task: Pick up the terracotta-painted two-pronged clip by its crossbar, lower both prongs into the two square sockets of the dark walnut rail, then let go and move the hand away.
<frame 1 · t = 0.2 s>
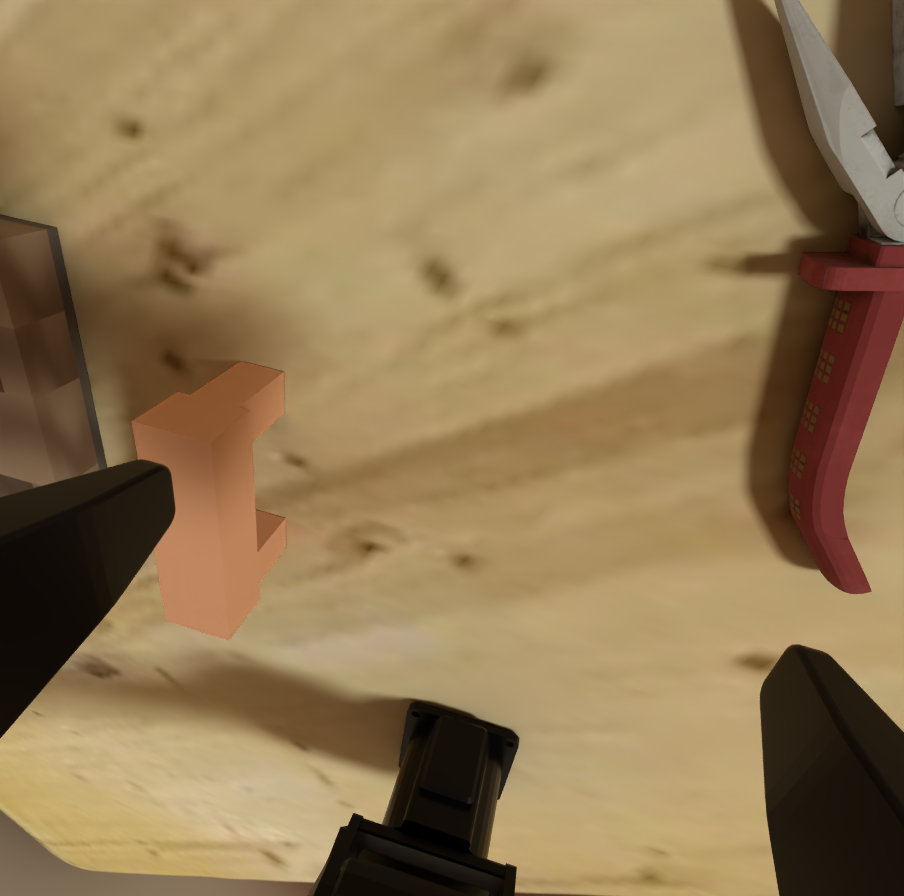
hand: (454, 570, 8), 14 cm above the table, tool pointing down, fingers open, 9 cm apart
rail: (43, 403, 29), on the table
clip: (265, 463, 27), on the table
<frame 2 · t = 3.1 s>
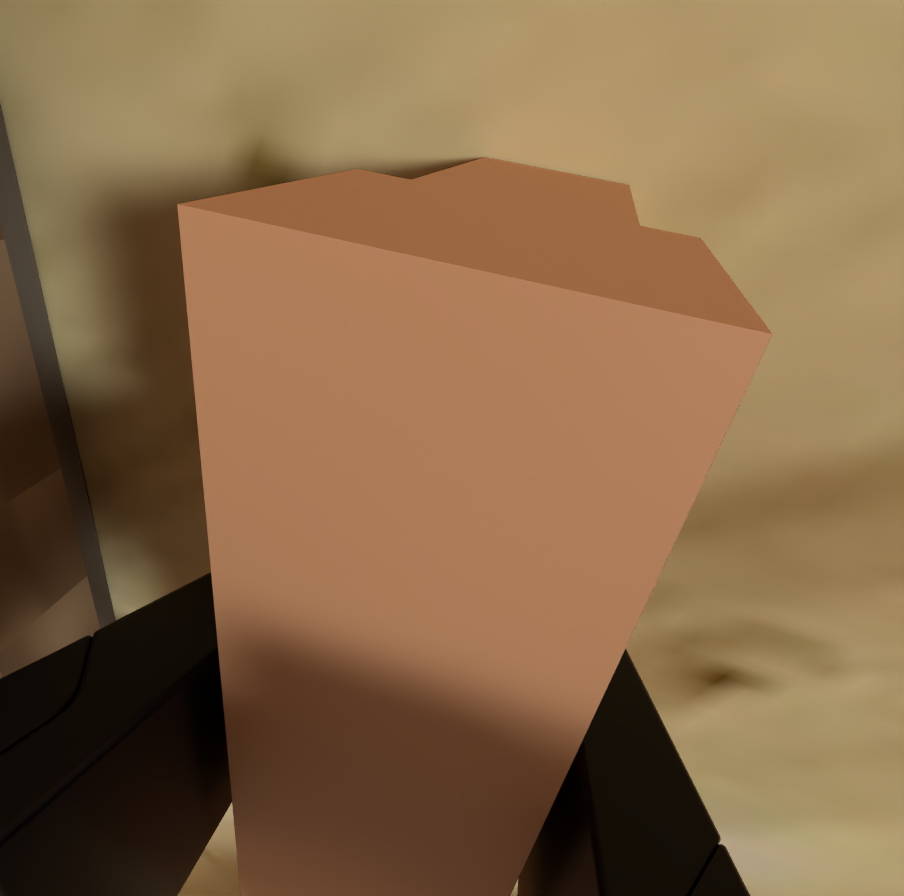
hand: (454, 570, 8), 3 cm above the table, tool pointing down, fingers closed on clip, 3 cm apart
clip: (488, 470, 10), on the table, touching gripper
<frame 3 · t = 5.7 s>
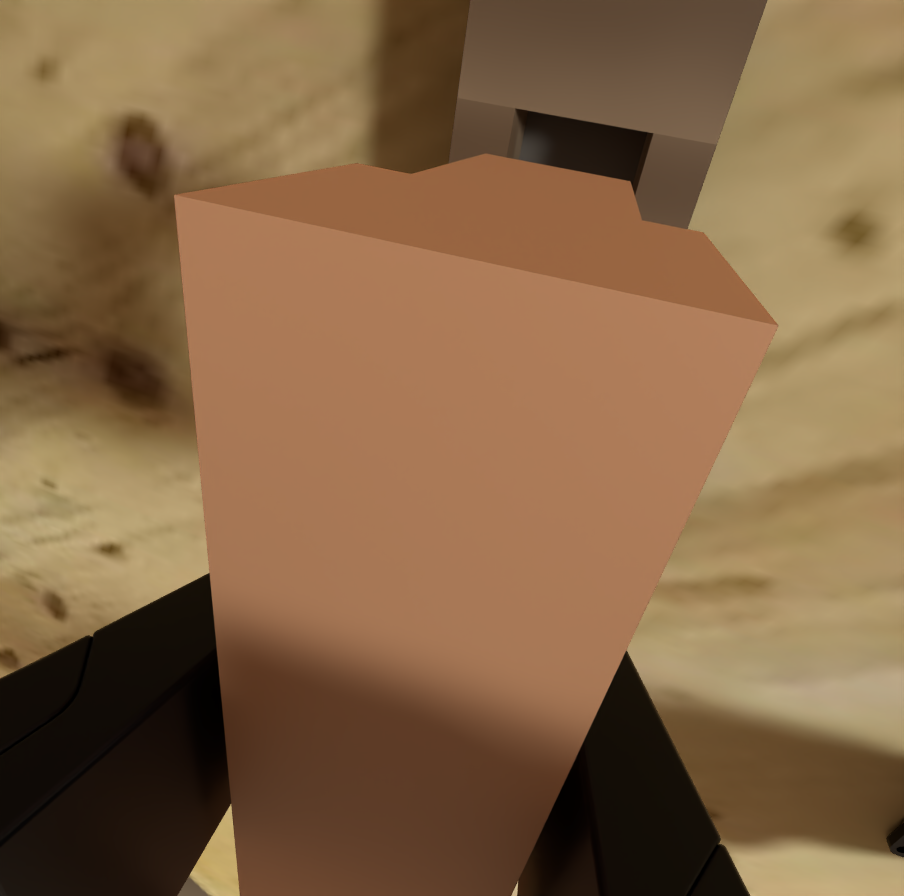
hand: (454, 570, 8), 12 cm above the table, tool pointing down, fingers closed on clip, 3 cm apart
rail: (540, 317, 19), on the table
clip: (489, 469, 10), point 10 cm above the table, touching gripper
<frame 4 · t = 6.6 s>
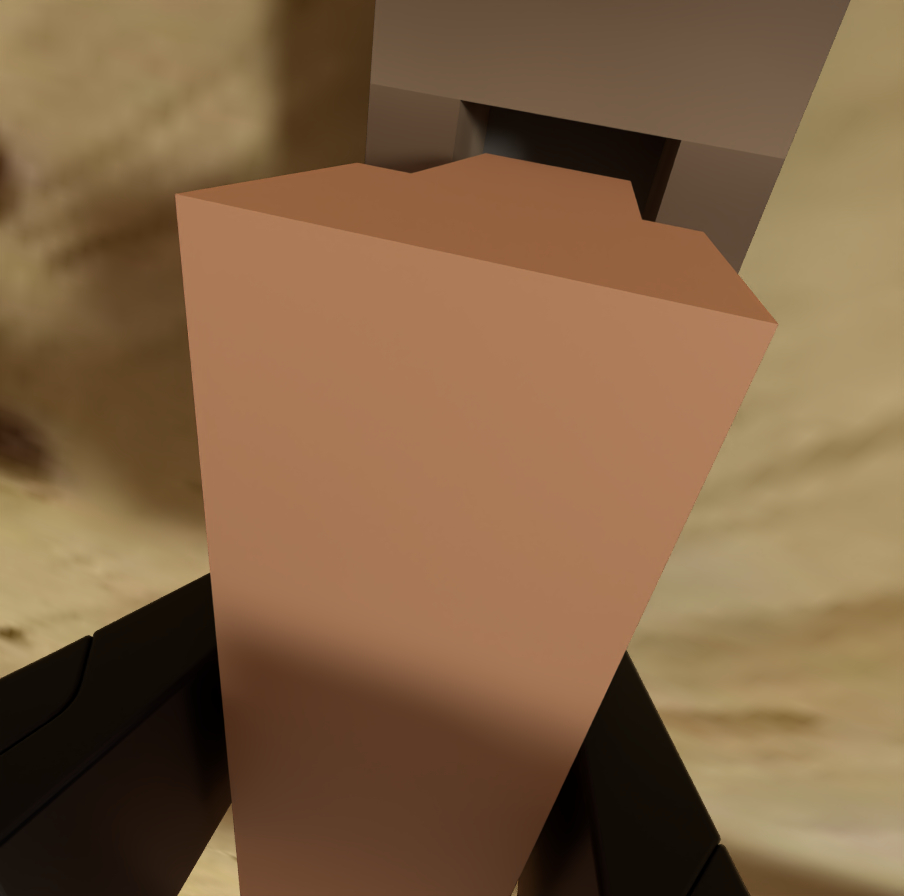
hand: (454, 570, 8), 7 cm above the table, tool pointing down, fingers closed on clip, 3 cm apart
rail: (515, 387, 14), on the table
clip: (489, 468, 10), point 4 cm above the table, touching gripper
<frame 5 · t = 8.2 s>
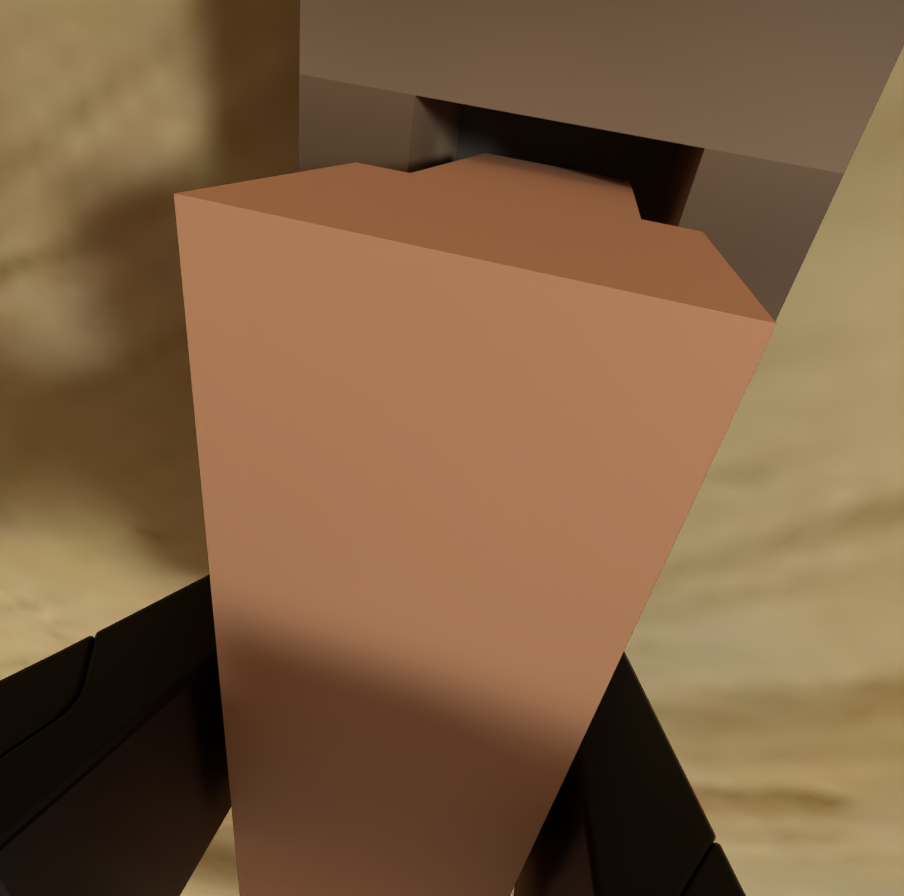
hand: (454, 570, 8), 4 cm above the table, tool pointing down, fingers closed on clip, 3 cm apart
rail: (500, 433, 12), on the table
clip: (488, 468, 10), point 1 cm above the table, touching gripper
when the fingers open (4 cm above the table, at t = 8.3 s): clip stays where it is, resting on rail.
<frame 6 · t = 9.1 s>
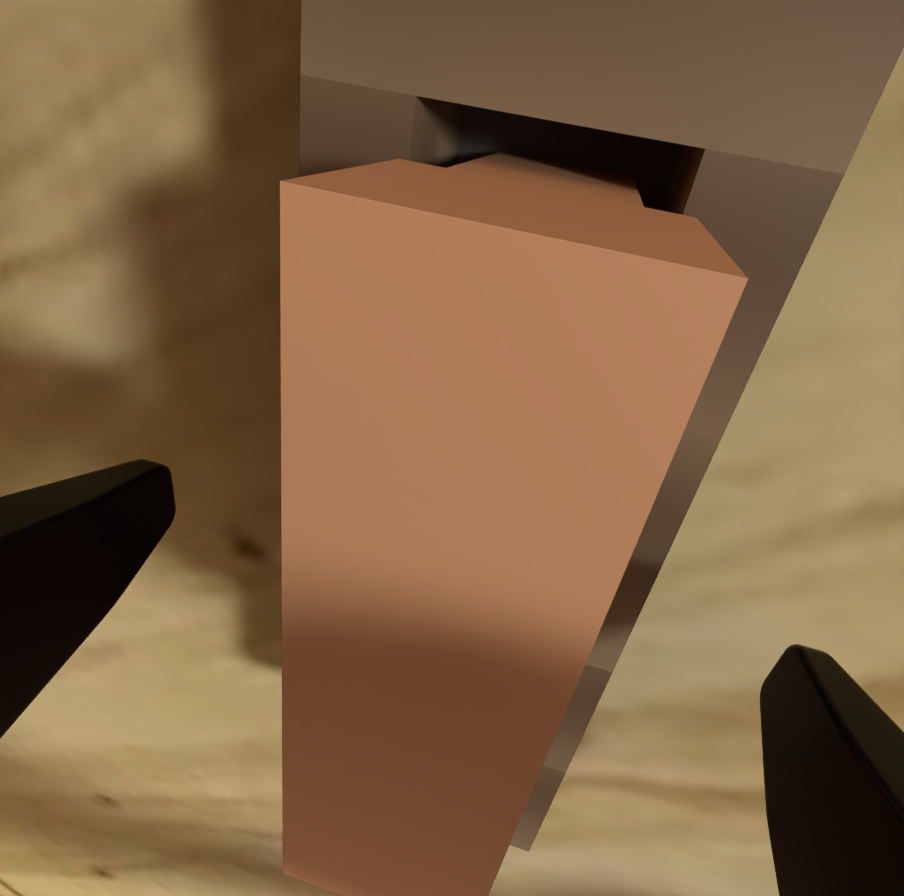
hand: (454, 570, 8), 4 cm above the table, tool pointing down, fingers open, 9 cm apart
rail: (500, 433, 12), on the table
clip: (501, 444, 11), resting on rail
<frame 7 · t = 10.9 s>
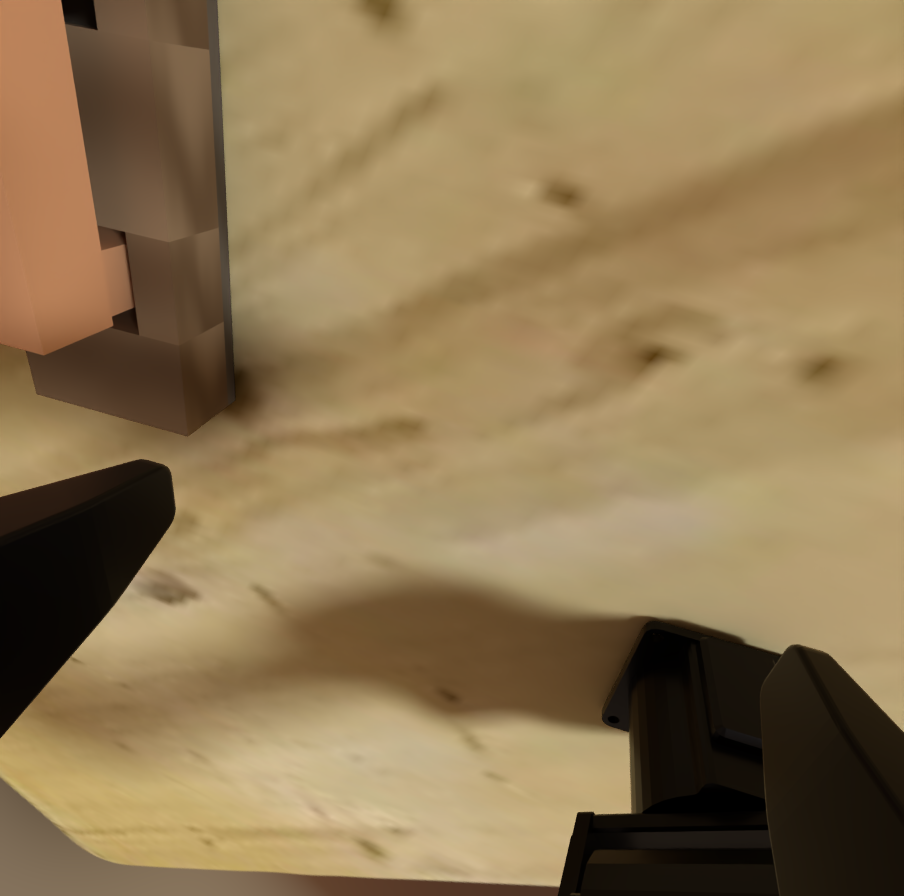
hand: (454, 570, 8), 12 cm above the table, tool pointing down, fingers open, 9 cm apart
rail: (136, 125, 18), on the table
clip: (127, 125, 18), resting on rail
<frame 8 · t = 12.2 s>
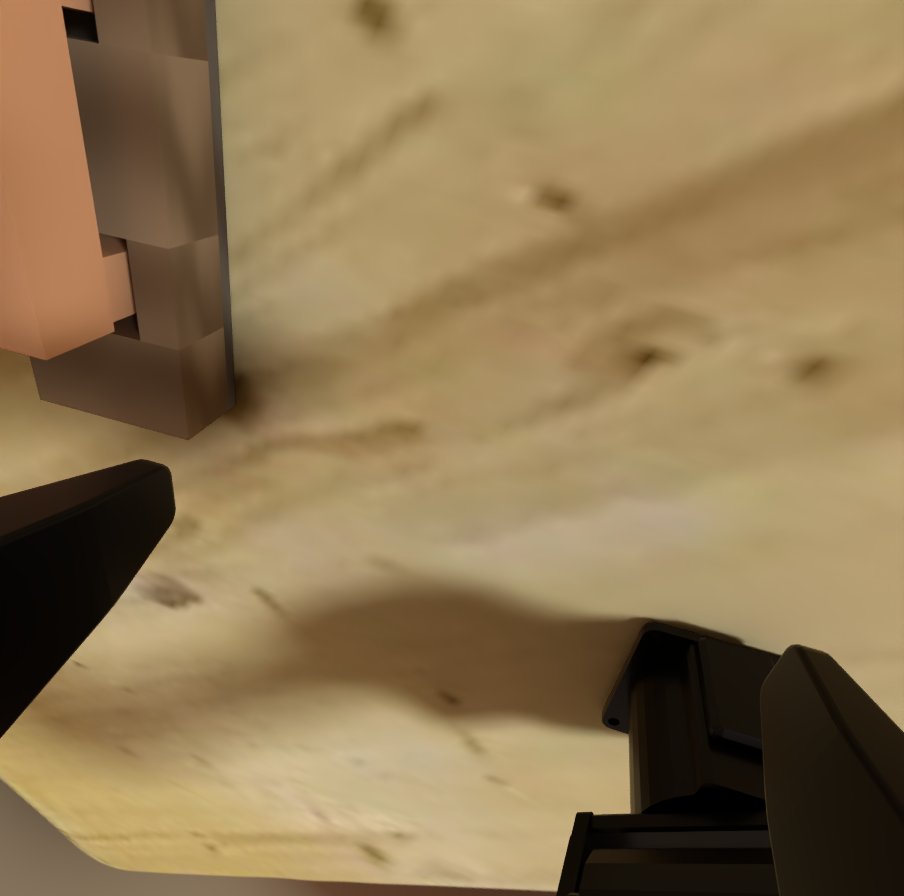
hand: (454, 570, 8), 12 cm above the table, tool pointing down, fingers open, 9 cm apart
rail: (137, 135, 19), on the table
clip: (129, 135, 18), resting on rail
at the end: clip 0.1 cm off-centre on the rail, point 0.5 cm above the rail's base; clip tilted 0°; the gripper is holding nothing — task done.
